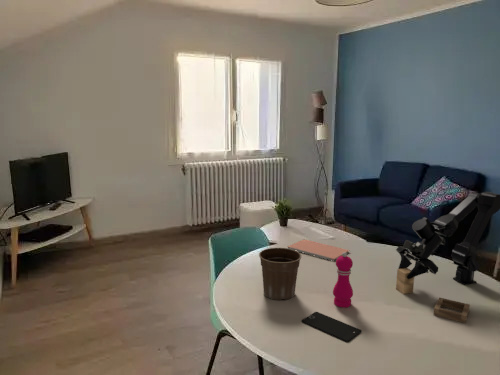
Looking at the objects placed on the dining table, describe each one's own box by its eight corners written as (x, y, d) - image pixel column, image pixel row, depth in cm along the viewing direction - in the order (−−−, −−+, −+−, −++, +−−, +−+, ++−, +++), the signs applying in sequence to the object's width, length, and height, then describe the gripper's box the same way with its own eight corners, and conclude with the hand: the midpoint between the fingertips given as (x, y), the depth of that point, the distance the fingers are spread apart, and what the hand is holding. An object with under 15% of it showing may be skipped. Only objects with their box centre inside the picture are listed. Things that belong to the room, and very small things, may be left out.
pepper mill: (353, 300, 151) (355, 250, 147) (351, 309, 144) (354, 256, 140) (333, 297, 153) (335, 248, 149) (331, 306, 146) (333, 254, 143)
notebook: (285, 250, 207) (286, 246, 207) (303, 242, 220) (304, 238, 219) (332, 263, 190) (332, 259, 189) (349, 253, 202) (349, 249, 202)
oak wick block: (405, 287, 162) (406, 267, 160) (413, 292, 158) (414, 272, 156) (396, 289, 160) (397, 269, 159) (403, 294, 156) (404, 273, 155)
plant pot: (305, 289, 161) (306, 250, 158) (292, 306, 146) (293, 265, 143) (268, 282, 168) (268, 245, 165) (252, 298, 153) (252, 258, 150)
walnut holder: (438, 303, 148) (439, 297, 148) (469, 311, 143) (469, 304, 142) (433, 314, 140) (434, 308, 140) (465, 323, 135) (466, 316, 134)
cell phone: (315, 313, 142) (316, 311, 142) (361, 332, 130) (362, 330, 130) (300, 322, 136) (300, 320, 136) (347, 343, 124) (347, 341, 123)
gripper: (401, 226, 165) (376, 255, 163) (434, 240, 147) (407, 272, 146) (415, 243, 168) (391, 271, 167) (450, 258, 151) (423, 289, 150)
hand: (402, 275), depth 157 cm, fingers open, 5 cm apart
